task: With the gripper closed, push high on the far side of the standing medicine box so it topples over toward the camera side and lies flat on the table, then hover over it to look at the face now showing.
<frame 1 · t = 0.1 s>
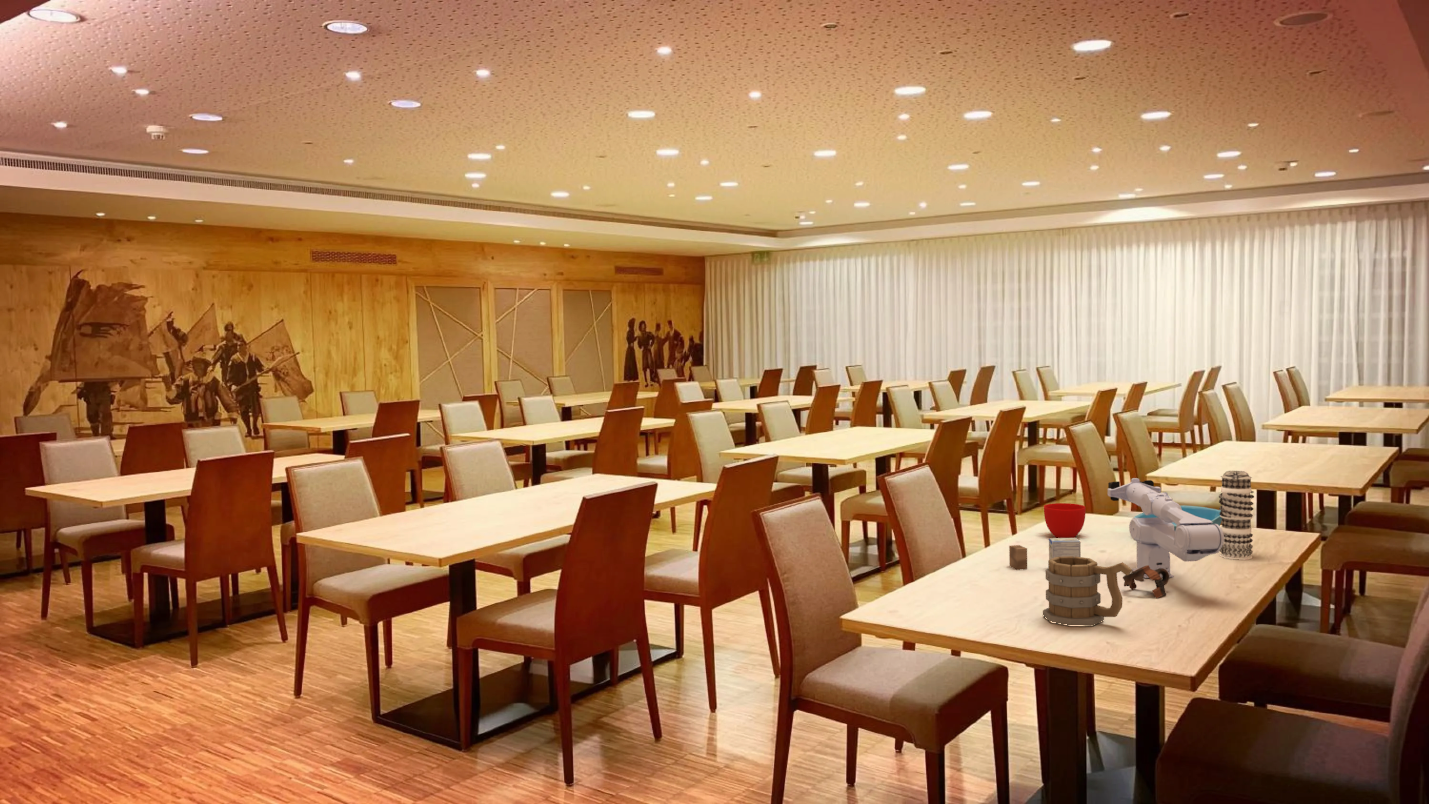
hand: (1122, 485, 301), 22 cm above the table, tool horizontal, fingers open, 7 cm apart
medicine box: (1064, 570, 291), on the table
decorative candle: (1236, 557, 300), on the table
tankard: (1088, 622, 240), on the table
casserole dish: (1179, 536, 333), on the table
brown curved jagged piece: (1148, 594, 263), on the table
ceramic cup: (1066, 536, 338), on the table
walnut block: (1018, 567, 295), on the table
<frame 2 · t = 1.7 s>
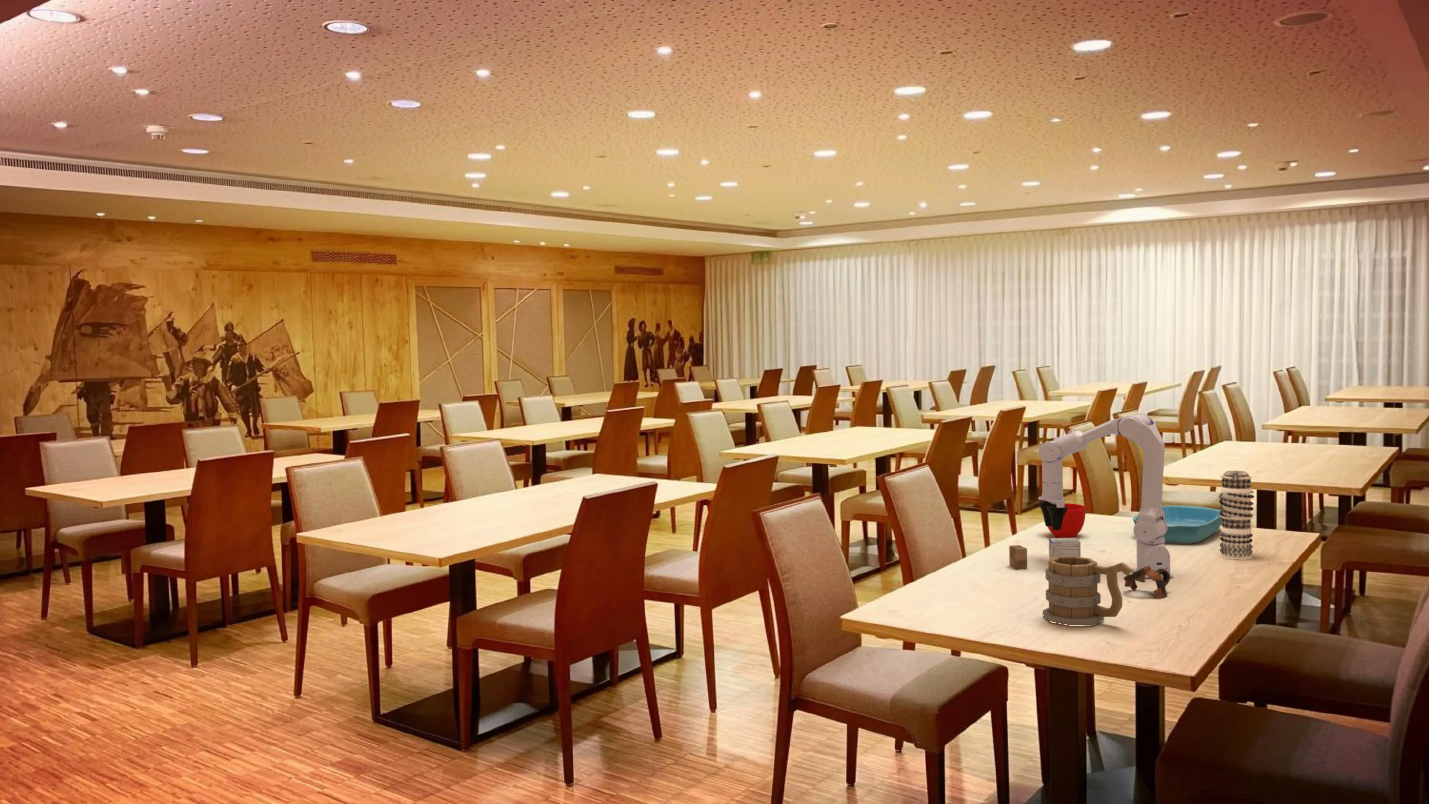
hand: (1053, 528, 301), 10 cm above the table, tool pointing down, fingers open, 6 cm apart
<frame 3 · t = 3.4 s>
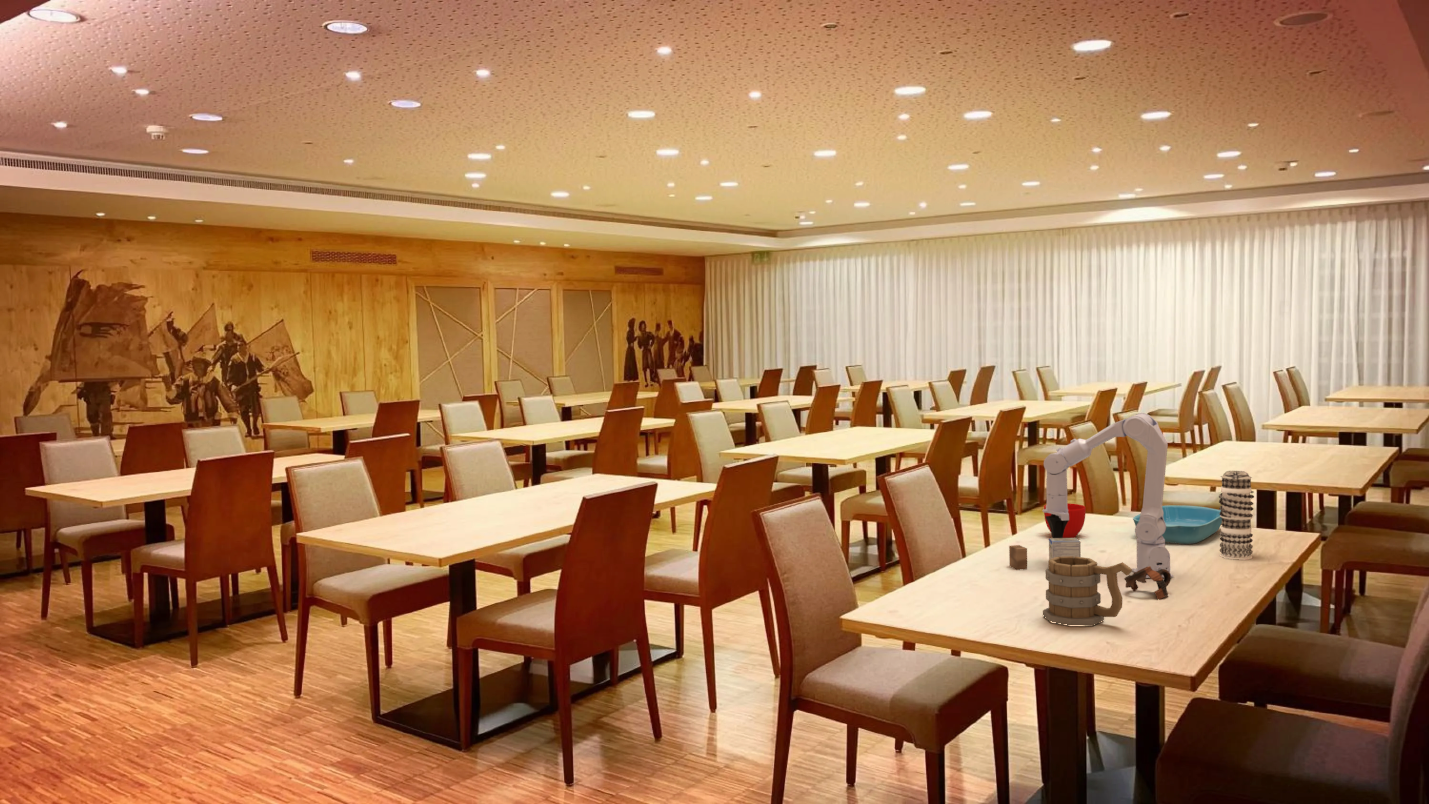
hand: (1057, 540, 297), 7 cm above the table, tool pointing down, fingers closed
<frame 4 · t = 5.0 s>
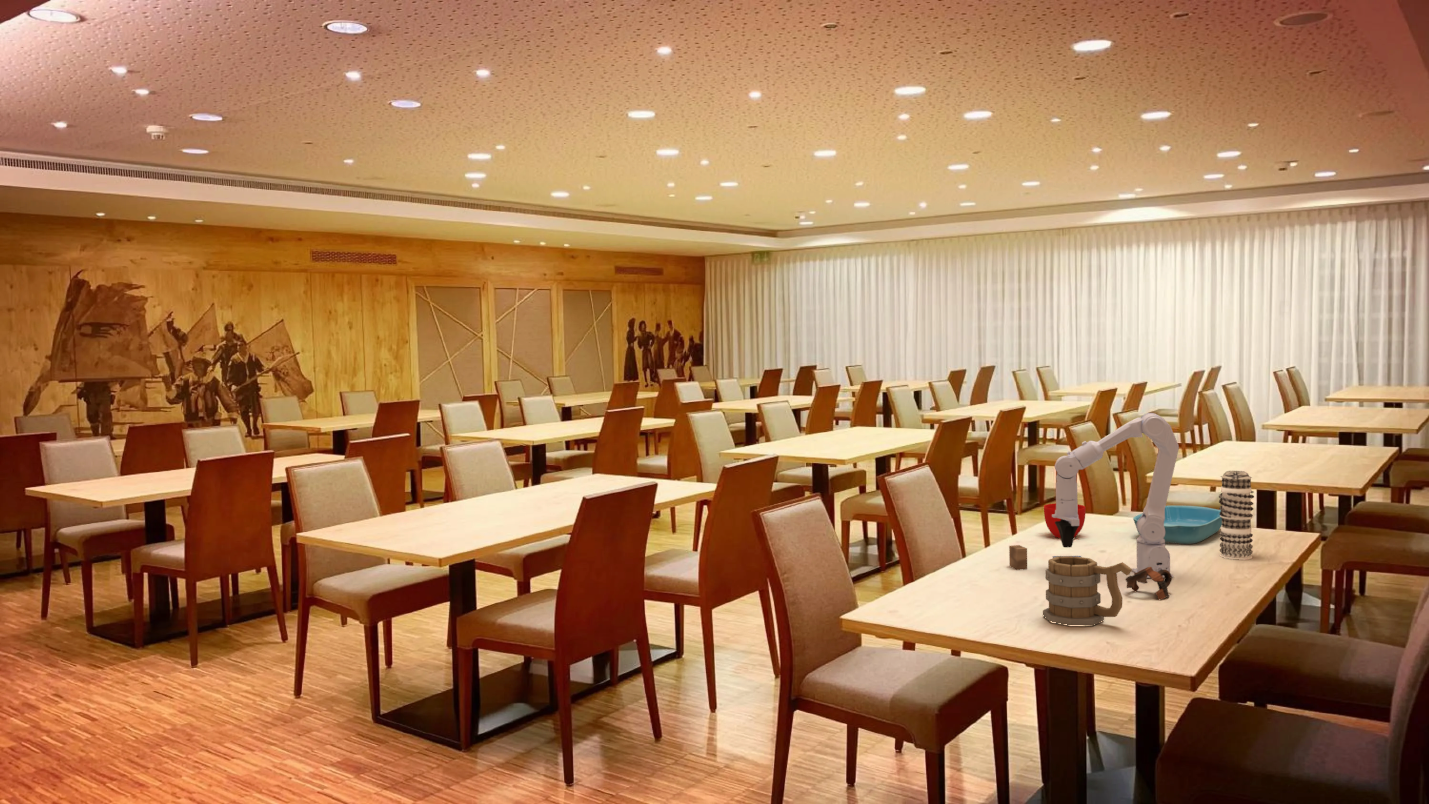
hand: (1067, 546, 289), 7 cm above the table, tool pointing down, fingers closed
medicine box: (1066, 563, 289), point 2 cm above the table
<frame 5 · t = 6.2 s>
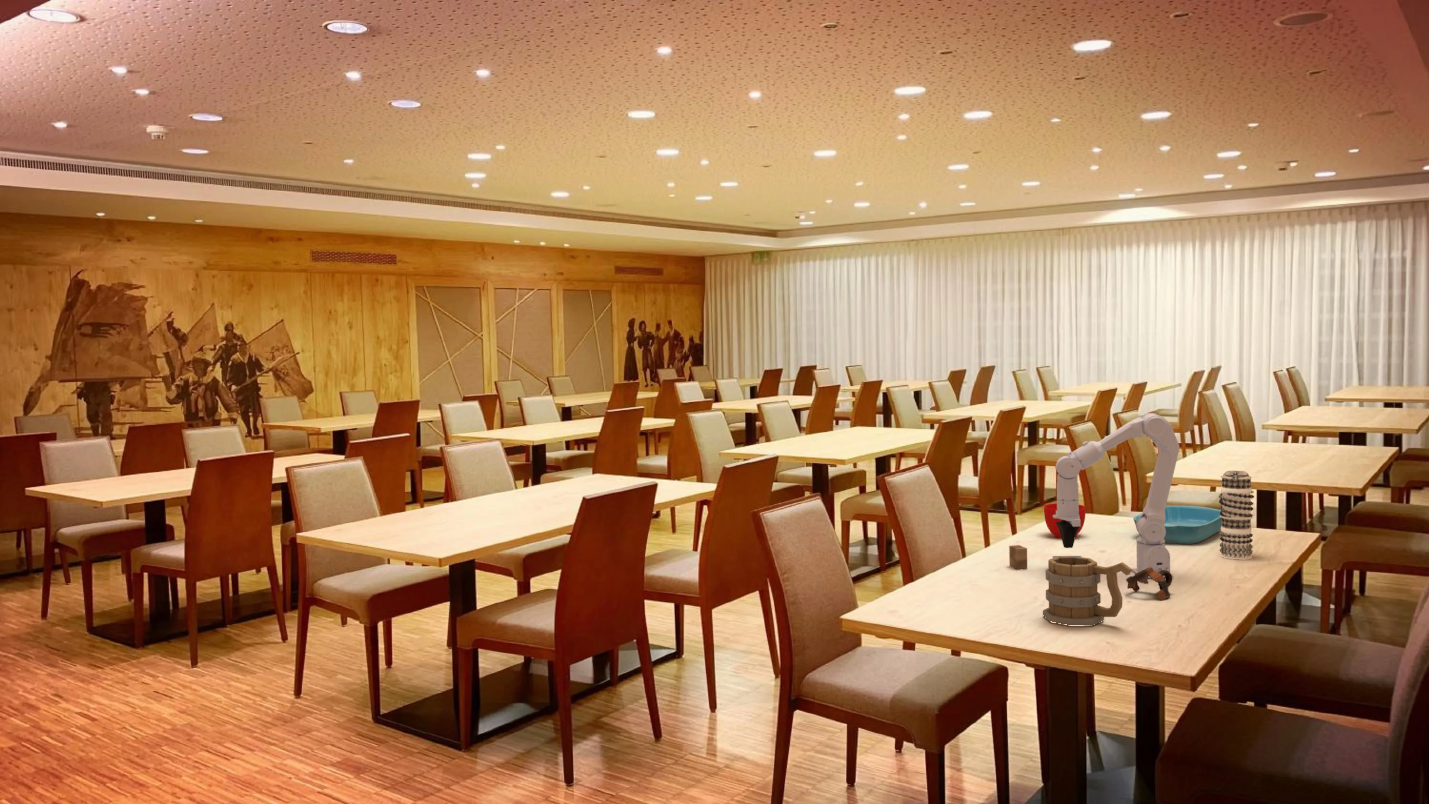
hand: (1068, 547, 288), 7 cm above the table, tool pointing down, fingers closed
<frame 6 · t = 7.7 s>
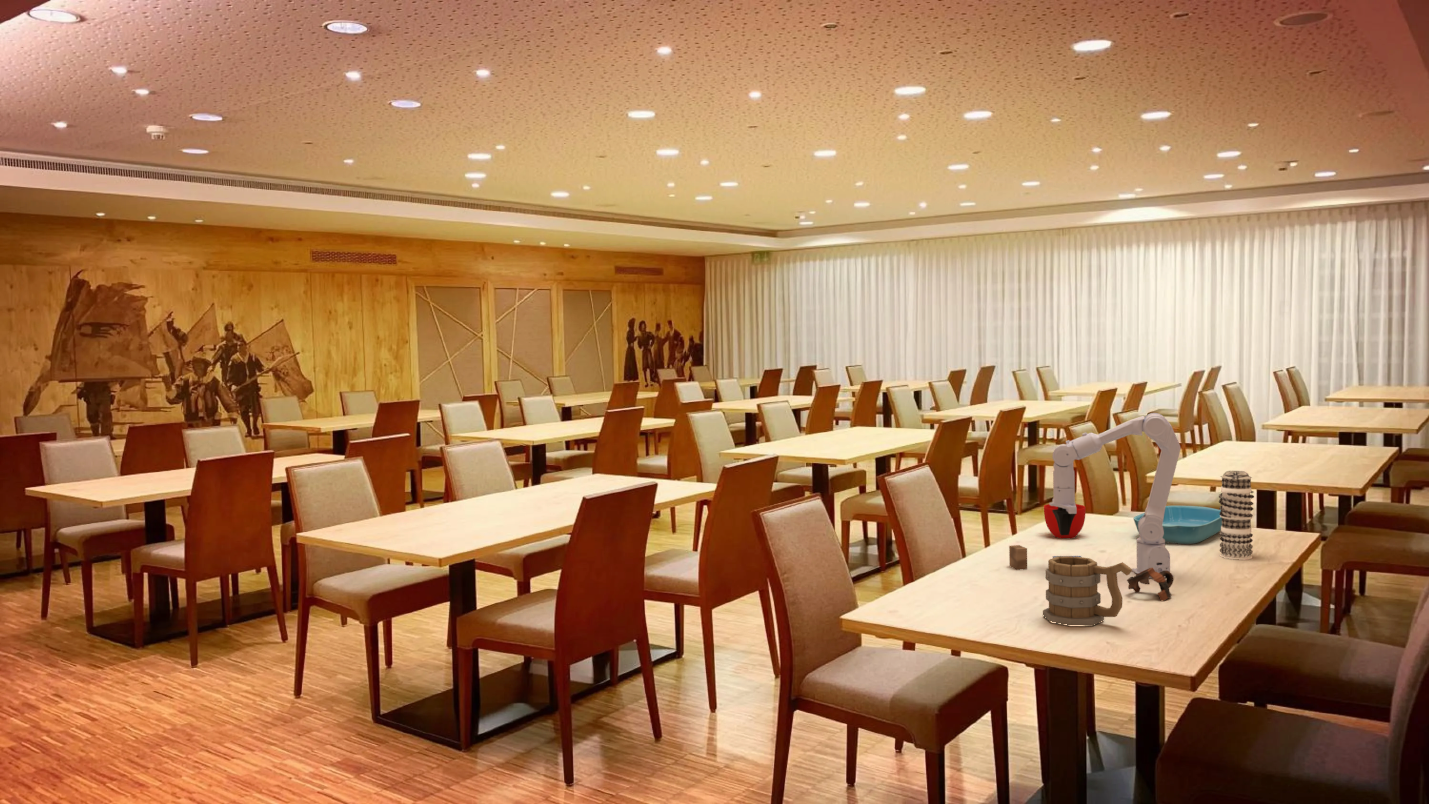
hand: (1064, 534, 291), 10 cm above the table, tool pointing down, fingers closed
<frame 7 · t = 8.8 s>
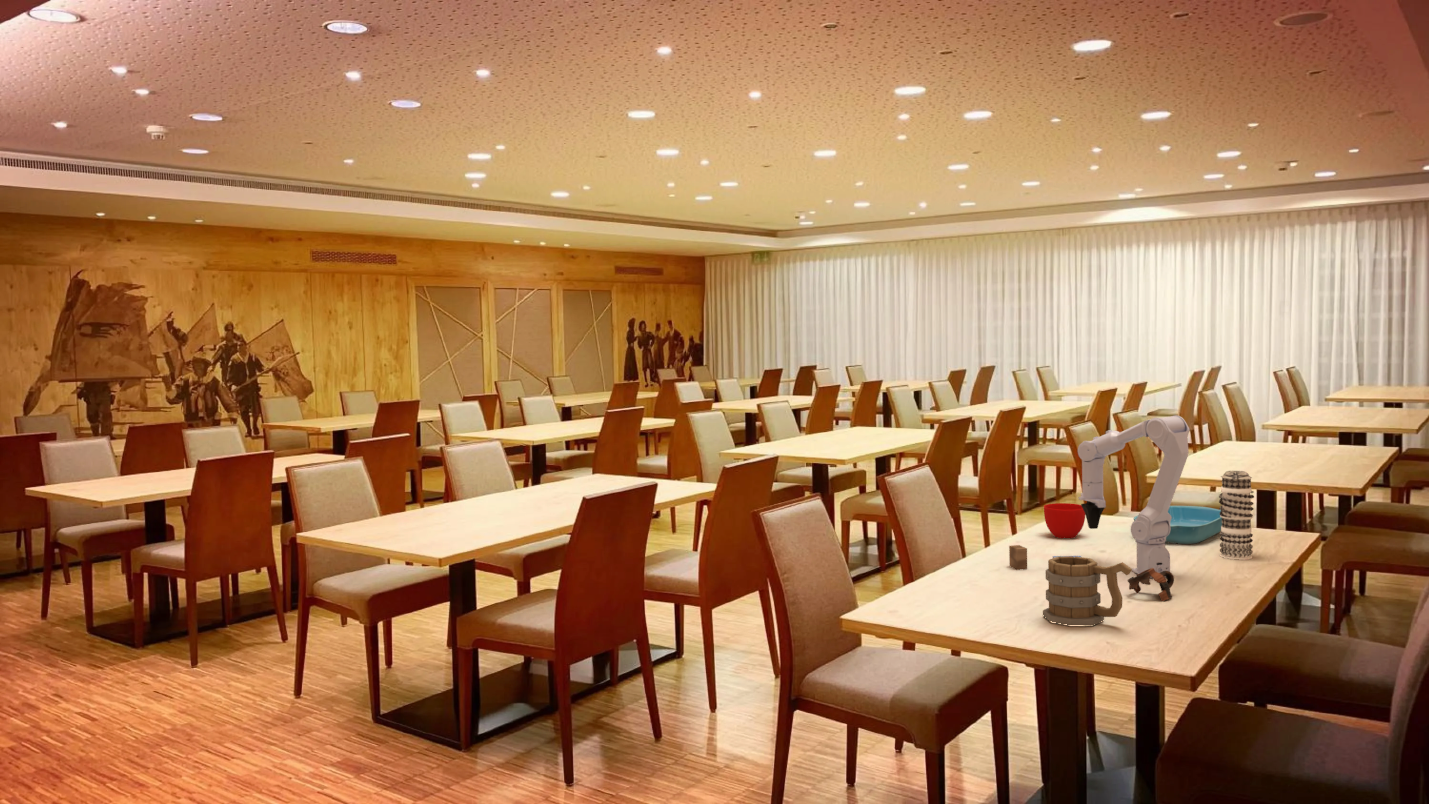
hand: (1093, 528, 299), 10 cm above the table, tool pointing down, fingers closed
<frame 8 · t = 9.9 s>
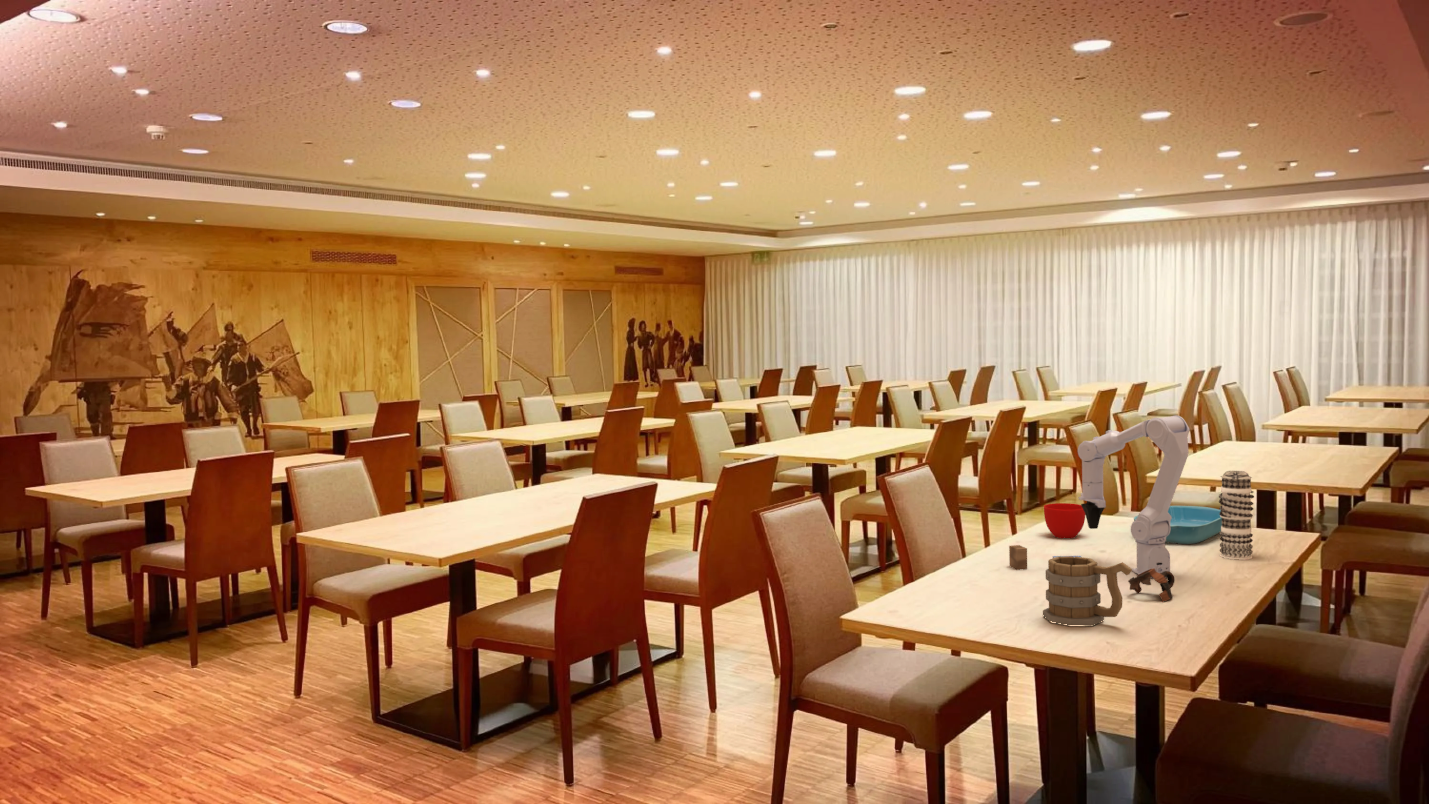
hand: (1093, 528, 299), 10 cm above the table, tool pointing down, fingers closed
at the end: medicine box tilted 89°; medicine box inside the target area (2.6 cm from its centre), point 2.1 cm above the table; medicine box touching table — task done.
